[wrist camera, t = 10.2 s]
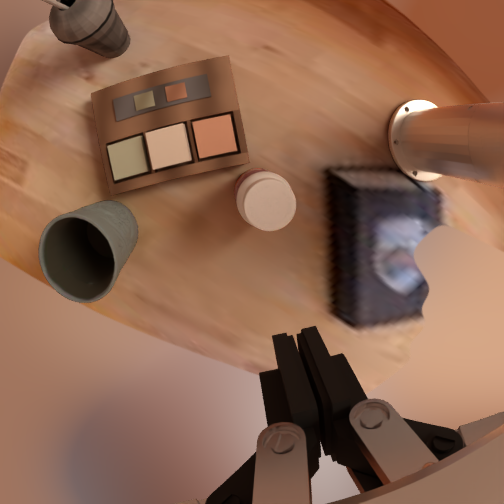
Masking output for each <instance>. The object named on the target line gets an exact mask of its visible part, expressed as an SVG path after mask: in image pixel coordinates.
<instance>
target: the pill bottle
mask: <svg viewBox="0 0 504 504" xmlns="http://www.w3.org/2000/svg"><path fill="white" fill-rule="evenodd" d="M234 195H235V200H236V205H237V208H238V211H239V213H240V215H241V216H242V218H243V219H244V220H245V221H246V222H247V223H249V224H250V225H252V226H254V227H256V228H258V229H260V230H263V231H276V230H279V229H281V228H283V227H285V226H286V225H287V224H288V223H289V222H290V221H291V220H292V218H293V216H294V214H295V211H296V199H295V196H294V193H293V192H292V189H291V187H290V185H289V184H288V182H287V181H286V180H285V179H284V178H283V177H281V176H280V175H278V174H276V173H273V172H271V171H268V170H265V169H261V168H255V169H251V170H248V171H246V172H245V173H243V174H242V175H241V176H240V177H239V179H238V180H237V182H236V185H235V189H234Z"/></svg>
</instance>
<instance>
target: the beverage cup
mask: <svg viewBox="0 0 504 504" xmlns="http://www.w3.org/2000/svg"><path fill="white" fill-rule="evenodd" d="M42 1H44V2H47V3H49V4H51V5H53V7H52V9H51V12H50V16H49V22H50V28H51V30H52V31H53V33H54V34H55V36H56V37H57V38H58V40H60V41H61V42H63V43H67V44H74V45H79V46H81V47H84V48H86V49H88V50H90V51H93V52H95V53H97V54H99V55H102V56H105V57H108V58H114V57H118V56H120V55H121V54H123V53H124V52H125V51H126V50H127V48H128V46H129V44H130V36H129V34H128V31H127V29H126V28H125V26H124V24H123V22H122V20H121V19H120V17H119V15H118V13H117V12H116V10H115V7H114V3H113V0H56V1H55V0H42Z"/></svg>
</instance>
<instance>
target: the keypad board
mask: <svg viewBox="0 0 504 504" xmlns="http://www.w3.org/2000/svg"><path fill="white" fill-rule="evenodd" d="M91 98H92V105H93V111H94V117H95V123H96V129H97V135H98V140H99V145H100V150H101V155H102V160H103V165H104V169H105V174H106V178H107V182H108V186H109V191H110V195H111V196H112V195H115V194H119V193H122V192H126V191H130V190H133V189H137V188H141V187H144V186H148V185H152V184H156V183H160V182H164V181H168V180H172V179H176V178H180V177H184V176H189V175H193V174H198V173H202V172H207V171H211V170H216V169H221V168H225V167H230V166H235V165H241V164H246V163H250V160H249V155H248V150H247V145H246V140H245V134H244V129H243V124H242V119H241V114H240V109H239V104H238V99H237V94H236V89H235V84H234V79H233V74H232V69H231V64H230V59H229V55H228V56H223V57H217V58H212V59H207V60H202V61H197V62H193V63H188V64H184V65H180V66H176V67H172V68H168V69H164V70H161V71H157V72H153V73H150V74H146V75H143V76H140V77H137V78H133V79H130V80H127V81H124V82H121V83H118V84H115V85H113V86H110V87H107V88H104V89H102V90H99V91H96V92H94V93H91ZM229 114H230V117H231V122H232V127H233V132H234V137H235V142H236V147H237V151H232V152H227V153H223V154H218V155H213V156H208V157H204V158H199V153H198V148H197V143H196V138H195V133H194V128H193V123H192V122H196V121H200V120H205V119H209V118H214V117H219V116H224V115H229ZM181 123H183V124H185V128H186V133H187V138H188V143H189V148H190V153H191V158H192V160H191V161H186V162H182V163H178V164H174V165H170V166H166V167H162V168H158V169H154V170H153V168H152V163H151V159H150V154H149V149H148V144H147V139H146V134H145V133H147V132H151V131H154V130H158V129H162V128H166V127H169V126H173V125H177V124H181ZM138 136H144V139H145V144H146V149H147V153H148V158H149V163H150V167H151V170H150V171H147V172H143V173H139V174H136V175H132V176H129V177H125V178H122V179H118V180H114V175H113V171H112V166H111V162H110V157H109V152H108V147H107V146H109V145H112V144H115V143H119V142H122V141H125V140H128V139H131V138H135V137H138Z"/></svg>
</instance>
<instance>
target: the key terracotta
mask: <svg viewBox="0 0 504 504" xmlns="http://www.w3.org/2000/svg"><path fill="white" fill-rule="evenodd" d="M192 123H193V128H194V133H195V138H196V143H197V148H198V153H199V158H204V157H208V156H213V155H218V154H223V153H227V152H232V151H237V147H236V142H235V137H234V132H233V127H232V122H231V117H230V114H229V115H224V116H219V117H214V118H209V119H205V120H200V121H196V122H192Z"/></svg>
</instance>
